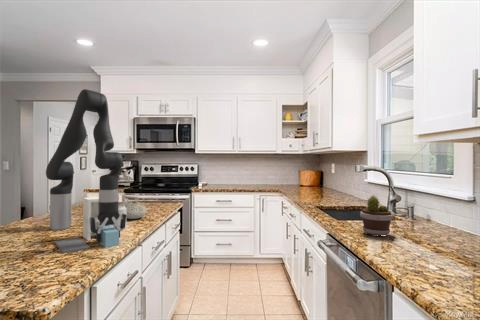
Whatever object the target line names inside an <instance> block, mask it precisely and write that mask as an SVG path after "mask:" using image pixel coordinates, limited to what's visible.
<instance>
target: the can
mask: <svg viewBox="0 0 480 320" xmlns="http://www.w3.org/2000/svg"><path fill="white" fill-rule="evenodd" d="M126 209H127V208H126V207H125V205H119V210H118V213H119V214H126ZM117 222H118V224H119V226H120V223H121V219H120V217H119V218H118V219H117ZM113 228H115V226H114V225H113ZM126 228H127V222H126V223H125V228H123V229H121V230H120V232H121V231H124V230H125V229H126ZM115 229H116V228H115Z"/></svg>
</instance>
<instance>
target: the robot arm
mask: <svg viewBox="0 0 480 320" xmlns="http://www.w3.org/2000/svg"><path fill="white" fill-rule="evenodd" d="M75 101H76V102H75V104H74V107H73V111H72V113H71V116H70V119H69V121H68V123H67V126H66V128H65V130H64V132H63V134H62V136H61V139H60V141H59V144H58V146H57V148H56V150H55V152H54V153H53V156H52V157H51V159H50V160H49V162H48V164H47V165H46V170H45V176H46V178H47V180H50V181H60V183H59V184H58V185H55V186H53V187H51V188H50V190H49V230H52V231H54V230H55V231H56V230H58V231H59V230H64V229H65V230H66V229H69V228H71V227H72V198H73V197H72V196H73V195H72V193H73V192H72V191H73V188H74V187H73V185H74V172H75V171H74V165H73V163H72V162H70V161H66V160H67V159H68V158H70V157H72V156H73V155H74V154H76V152H78V151H79V150H80V149H81V148H82V147H83V145H84V143H85V141H86V139H87V137H88V136H87V135H88V133H87V129H86V128H87V127H86V126H85V123H84V115H85V113H86V111H87V112H91V113H95V114H96V113H97V115H98V121H97V122H96V124H95V126H93V127H94V128H93V131H92V132H93V133H92V135H93V140H94V143H95V158H94V164H95V166H96V168H98V169H100V170H111V171H110V172H109V173H107V174H103V175H100V177H99V189H98V190H99V192H98V197H99V213H98V216H97V217H90V227H91V232H93V233H96V235H95V240H96V242H97V243H99V244H100V243H101V233H100V232H101V231H102V229H103V228H104V226H107V225H114V226H115V228H116V230H118V231H119V239H120V238H121V231H122V230H121V229H123V228H125V223H126V224H127V219H126V214H119V213H118V210H119V204H120V203H119V202H120V201H119V200H120V198H119V197H120V196H119V178H120V173H121V171H122V168H123V164H124V158H123V155H122V154H121V153H120V152H119V151H118V152H117V151H111V150H113V148H114V147H115V143H114V139H113V134H112V131H111V127H110V115H109V114H110V112H109V104H108V103H109V102H108V99H107V96H106V95H105V94H103V93H102V92H98V91H95V90H90V89H87V88H86V89H85V88H84V89H82V90H81V91H80V92H79V94H78V96H77V99H76V100H75ZM119 217H120V219H121V223H120V226H119V224H118V222H117V219H118V218H119ZM97 219H98V220H99V221H100V223H99V225H98V227H97V229H96V228H95V222H96V221H97ZM125 229H126V228H125ZM120 230H121V231H120Z"/></svg>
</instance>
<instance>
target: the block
mask: <svg viewBox="0 0 480 320" xmlns="http://www.w3.org/2000/svg"><path fill="white" fill-rule="evenodd" d="M100 233H101V243H99V244H100V245H102V246H103V247H104V248H105V249H107V248H112V247H117V246H118V247H119V246H120V238H119V231H118V230H116V229H115V228H113V227H111V226H104V228H103V229H102V231H101V232H100Z"/></svg>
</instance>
